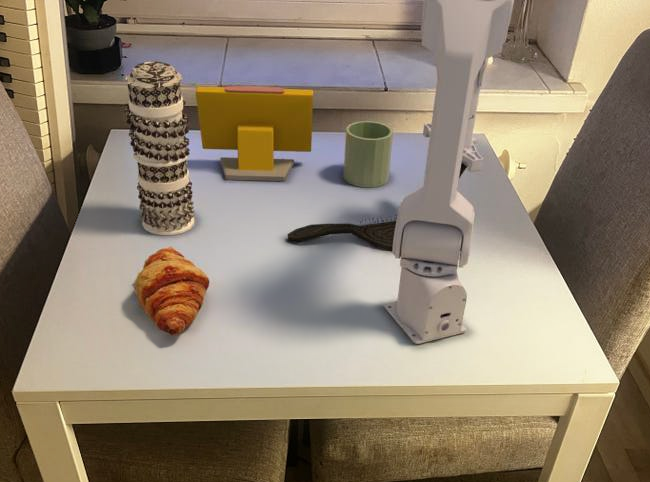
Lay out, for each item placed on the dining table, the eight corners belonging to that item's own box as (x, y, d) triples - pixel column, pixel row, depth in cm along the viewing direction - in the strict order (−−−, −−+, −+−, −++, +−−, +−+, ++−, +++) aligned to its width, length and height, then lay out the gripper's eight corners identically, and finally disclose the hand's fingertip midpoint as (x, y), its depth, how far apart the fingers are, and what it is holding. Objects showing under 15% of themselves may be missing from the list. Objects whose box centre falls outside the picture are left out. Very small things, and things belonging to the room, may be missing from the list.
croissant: (152, 281, 117) (121, 243, 112) (208, 250, 116) (179, 209, 111) (158, 366, 101) (123, 325, 96) (224, 330, 100) (191, 287, 95)
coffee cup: (395, 183, 139) (401, 136, 133) (355, 190, 136) (358, 142, 130) (375, 165, 145) (379, 118, 139) (336, 171, 142) (338, 124, 136)
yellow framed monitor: (310, 163, 144) (313, 79, 134) (310, 182, 138) (313, 95, 128) (204, 160, 144) (198, 75, 134) (199, 179, 137) (193, 92, 127)
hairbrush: (285, 211, 123) (438, 202, 125) (286, 231, 126) (436, 222, 127) (288, 238, 117) (449, 228, 118) (289, 258, 119) (447, 249, 121)
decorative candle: (135, 212, 127) (115, 58, 111) (191, 206, 130) (178, 54, 114) (143, 239, 120) (123, 80, 105) (201, 232, 123) (190, 75, 107)
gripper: (506, 127, 112) (490, 210, 120) (454, 93, 122) (443, 172, 131) (465, 133, 110) (451, 218, 118) (415, 98, 120) (406, 178, 128)
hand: (444, 194), depth 124 cm, fingers closed
